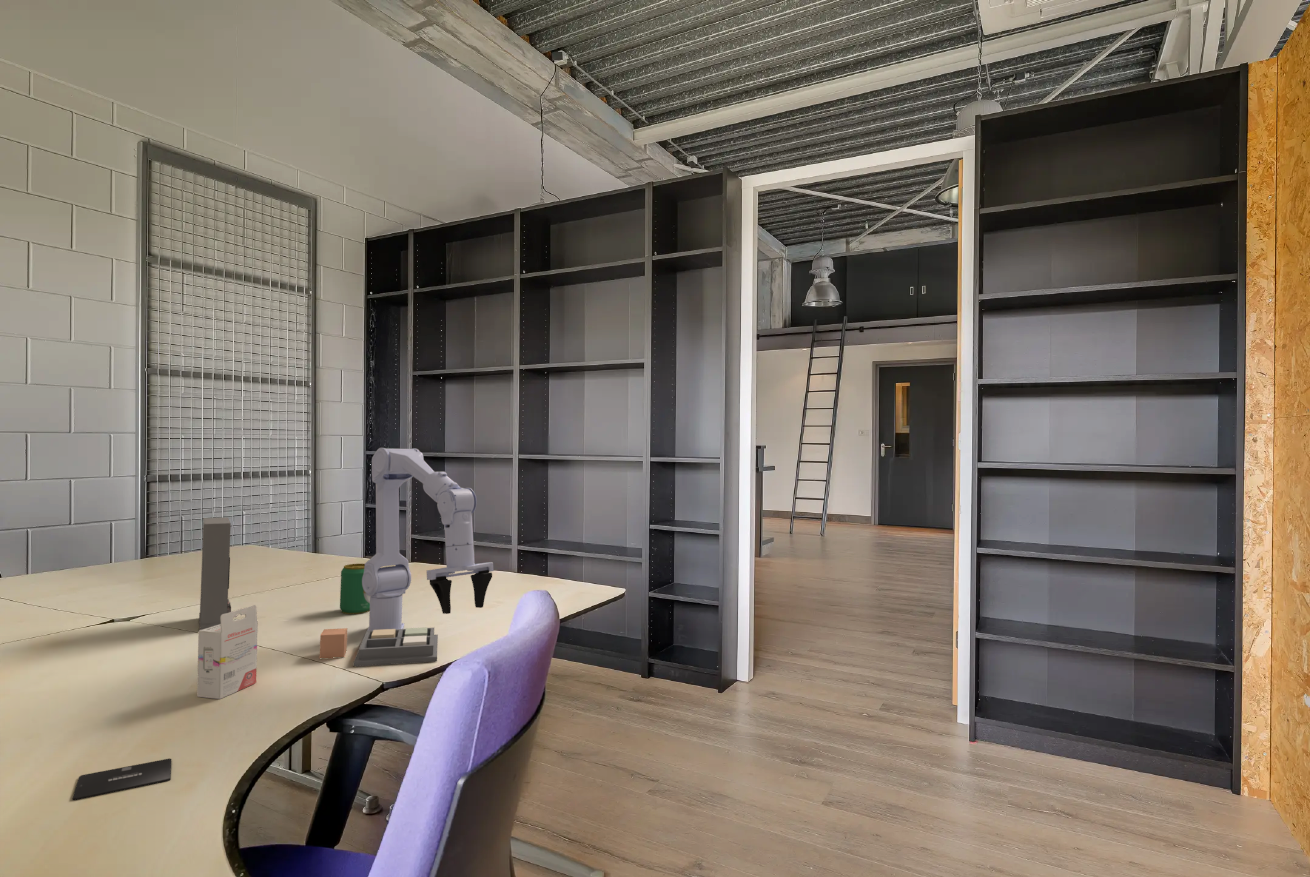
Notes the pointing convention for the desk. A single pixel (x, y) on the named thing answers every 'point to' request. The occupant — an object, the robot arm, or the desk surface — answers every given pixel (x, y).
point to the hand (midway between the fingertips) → (463, 610)
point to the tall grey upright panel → (215, 571)
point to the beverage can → (353, 590)
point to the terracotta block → (333, 643)
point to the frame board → (397, 647)
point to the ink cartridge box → (228, 654)
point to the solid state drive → (122, 779)
